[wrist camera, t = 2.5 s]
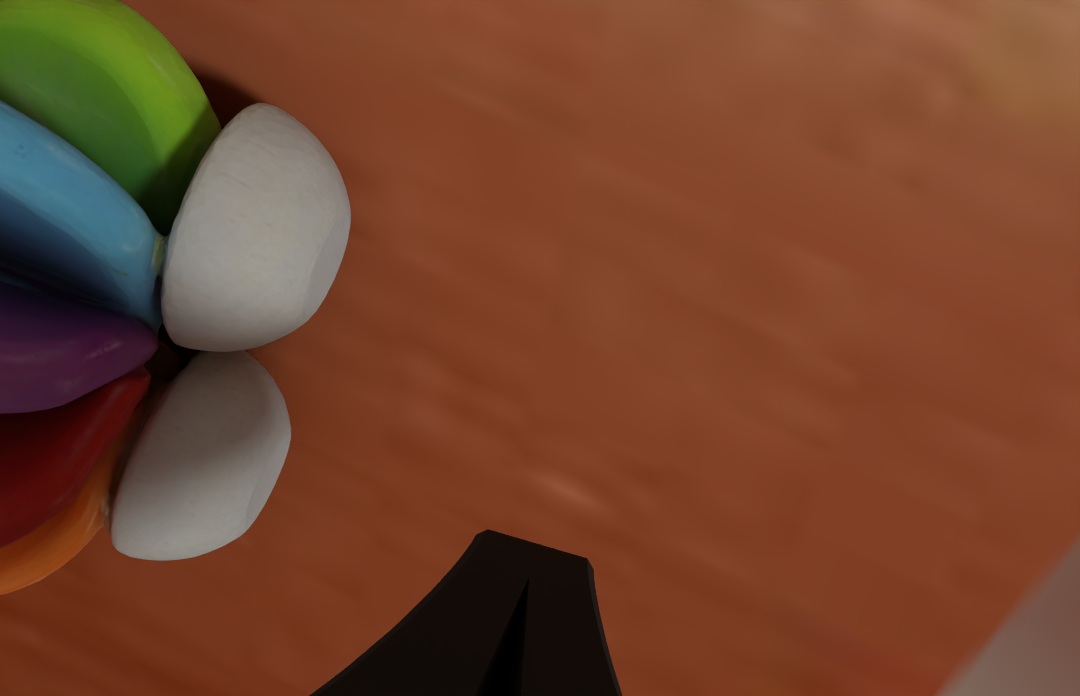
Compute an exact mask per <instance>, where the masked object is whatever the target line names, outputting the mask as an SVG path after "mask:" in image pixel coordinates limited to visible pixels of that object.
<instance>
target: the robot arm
mask: <svg viewBox="0 0 1080 696" xmlns="http://www.w3.org/2000/svg"><path fill="white" fill-rule="evenodd" d="M309 696H622V693H621V690H620V687H619V684H618V680H617V677H616V674H615V670H614V667H613V664H612V661H611V657H610V653H609V650H608V646H607V642H606V638H605V634H604V630H603V625H602V621H601V617H600V612H599V607H598V602H597V596H596V590H595V582H594V570H593V568H592V566H591V564H590V562H589V561H588V559H587V558H584V557H581V556H577V555H574V554H570V553H567V552H564V551H560V550H557V549H553V548H550V547H546V546H543V545H540V544H536V543H533V542H529V541H526V540H523V539H519V538H516V537H512V536H509V535H505V534H502V533H499V532H495V531H492V530H488V529H487V530H485V531H483V532H481V533H479V534H477V535H476V536H475V538H474V539H473V541H472V543H471V544H470V546H469V547H468V548H467V550H466V551H465V552H464V554H463V555H462V556H461V558H460V559H459V560H458V561H457V563H456V564H455V565H454V566H453V567H452V569H451V570H450V571H449V572H448V573H447V574H446V575H445V576H444V577H443V579H442V580H441V581H440V582H439V583H438V584H437V585H436V586H435V587H434V588H433V590H432V591H431V592H429V593H428V594H427V595H426V596H425V597H424V598H423V599H422V600H421V601H420V602H419V603H418V604H417V605H416V606H415V607H414V608H413V609H412V610H411V611H410V612H409V613H408V614H407V615H406V616H405V617H404V618H403V619H402V620H401V621H400V622H399V623H398V624H397V625H396V626H395V627H394V628H392V629H391V630H390V631H389V632H388V633H387V634H386V635H384V636H383V637H382V638H381V639H380V640H378V641H377V642H376V643H375V644H374V645H373V646H371V647H370V648H369V649H368V650H367V651H366V652H364V653H363V654H362V655H361V656H360V657H358V658H357V659H356V660H355V661H354V662H353V663H351V664H350V665H349V666H348V667H347V668H345V669H344V670H343V671H341V672H340V673H339V674H338V675H336V676H335V677H334V678H332V679H331V680H330V681H328V682H327V683H326V684H324V685H323V686H322V687H320V688H319V689H318V690H316V691H315V692H314V693H312V694H311V695H309Z"/></svg>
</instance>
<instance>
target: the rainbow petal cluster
mask: <svg viewBox="0 0 1080 696" xmlns="http://www.w3.org/2000/svg"><path fill="white" fill-rule="evenodd" d="M350 223H351V212H350V203H349V199H348V195H347V191H346V187H345V185H344V182H343V179H342V176H341V174H340V172H339V170H338V168H337V166H336V164H335V163H334V161H333V159H332V158H331V156H330V154H329V153H328V151H327V150H326V149H325V147H324V146H323V145H322V143H321V142H320V141H319V140H318V139H317V138H316V137H315V136H314V135H313V134H312V133H311V132H310V130H309V129H308V128H306V127H305V126H304V125H303V124H301V123H300V122H299V121H297V120H296V119H295V118H294V117H292V116H291V115H289V114H288V113H286V112H285V111H283V110H281V109H280V108H278V107H276V106H273V105H270V104H267V103H256V104H253V105H250V106H248V107H246V108H244V109H243V110H242V111H241V112H239V113H238V114H237V115H236V116H235V117H234V118H233V119H232V120H231V121H230V122H229V123H228V124H227V125H226V126H225V127H224V129H223V130H222V129H221V125H220V123H219V120H218V118H217V117H216V115H215V113H214V111H213V109H212V107H211V105H210V102H209V100H208V98H207V96H206V94H205V92H204V90H203V88H202V87H201V85H200V83H199V81H198V80H197V78H196V77H195V75H194V74H193V72H192V71H191V69H190V68H189V66H188V65H187V64H186V62H185V61H184V60H183V58H182V57H181V56H180V54H179V53H178V52H177V50H176V49H175V48H174V47H173V46H172V44H171V43H170V42H169V41H168V40H167V39H166V38H165V36H164V35H163V34H162V33H161V32H160V31H158V30H157V29H156V28H155V27H154V26H153V25H152V24H151V23H150V22H149V21H147V20H146V19H145V18H144V17H143V16H141V15H140V14H139V13H138V12H136V11H135V10H133V9H132V8H130V7H129V6H127V5H126V4H124V3H122V2H121V1H119V0H0V595H2V594H7V593H10V592H13V591H16V590H19V589H21V588H23V587H26V586H28V585H31V584H33V583H35V582H38V581H40V580H41V579H43V578H45V577H46V576H48V575H49V574H51V573H52V572H54V571H56V570H57V569H59V568H60V567H62V566H63V565H64V564H66V563H67V562H68V561H69V560H70V559H71V558H73V557H74V556H75V555H76V554H77V553H78V552H79V551H80V550H81V549H82V548H84V547H85V546H86V545H87V544H88V543H89V541H90V540H91V539H92V538H93V536H94V535H95V534H96V533H97V531H98V530H99V529H100V528H101V527H105V528H106V529H107V530H108V531H109V532H110V535H111V539H112V544H113V546H114V547H115V548H116V549H117V550H118V551H119V552H121V553H123V554H125V555H128V556H130V557H134V558H140V559H146V560H177V559H186V558H191V557H196V556H199V555H202V554H205V553H208V552H210V551H213V550H215V549H217V548H220V547H222V546H224V545H226V544H228V543H229V542H231V541H233V540H234V539H236V538H238V537H239V536H241V535H242V534H243V533H244V532H245V531H246V530H247V529H248V528H249V527H250V526H251V525H252V523H253V522H254V521H255V519H256V518H257V516H258V515H259V513H260V511H261V510H262V508H263V507H264V505H265V503H266V501H267V499H268V497H269V495H270V493H271V491H272V489H273V487H274V485H275V483H276V481H277V478H278V476H279V474H280V471H281V469H282V467H283V464H284V461H285V458H286V455H287V452H288V449H289V445H290V440H291V426H290V420H289V415H288V411H287V408H286V404H285V401H284V397H283V396H282V394H281V392H280V391H279V389H278V387H277V385H276V383H275V381H274V380H273V378H272V377H271V375H270V374H269V373H268V372H267V370H266V369H265V368H264V367H263V366H262V365H261V364H260V363H259V362H258V361H257V360H256V359H254V358H253V357H252V356H251V355H250V354H249V353H247V352H246V351H245V350H246V349H251V348H255V347H259V346H262V345H265V344H268V343H271V342H273V341H275V340H277V339H279V338H282V337H284V336H286V335H287V334H289V333H291V332H292V331H294V330H296V329H297V328H299V327H300V326H301V325H303V324H304V323H305V322H307V321H308V320H309V319H310V318H311V316H312V315H313V314H314V313H315V312H316V311H317V309H318V308H319V306H320V305H321V303H322V302H323V300H324V298H325V297H326V295H327V293H328V291H329V289H330V287H331V285H332V283H333V281H334V279H335V276H336V274H337V271H338V269H339V266H340V264H341V261H342V259H343V255H344V252H345V248H346V245H347V241H348V236H349V230H350ZM163 323H164V326H165V328H166V331H167V333H168V335H169V337H170V338H171V340H172V341H173V342H174V343H175V344H177V345H179V346H182V347H186V348H190V349H196V350H201V351H199V352H198V353H197V354H196V355H194V356H193V357H192V358H191V359H190V361H189V362H188V364H187V365H186V366H185V367H184V368H183V369H182V370H181V371H180V372H179V373H178V365H179V359H180V358H179V355H178V354H176V353H175V352H173V351H172V350H171V349H170V348H169V347H168V346H167V345H166V344H165V343H164V342H162V341H160V340H158V333H159V328H160V326H161V325H162V324H163Z"/></svg>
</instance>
